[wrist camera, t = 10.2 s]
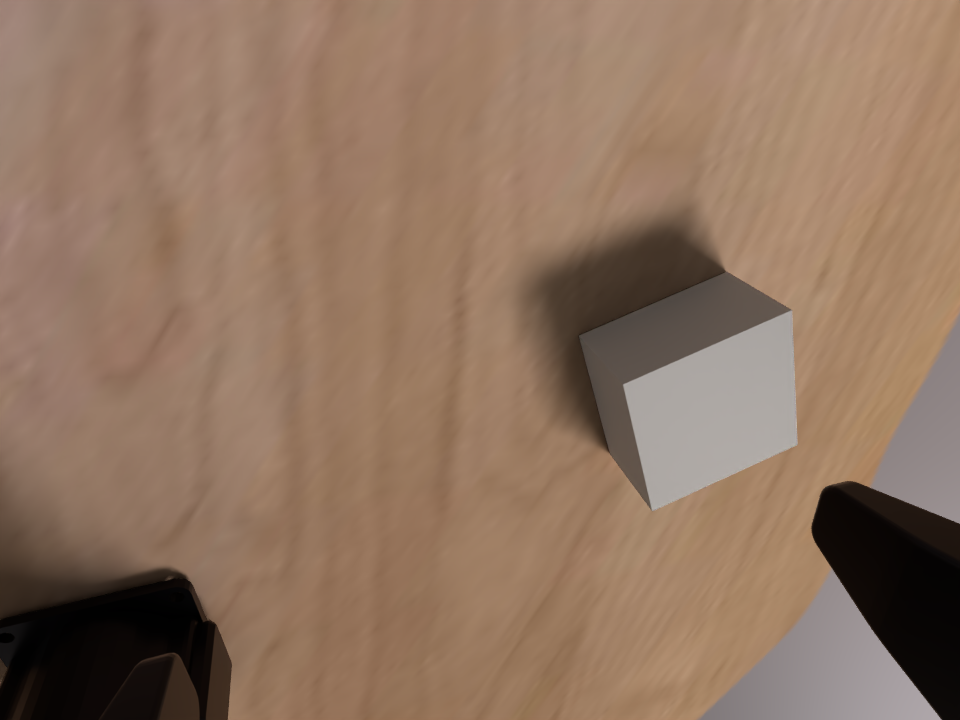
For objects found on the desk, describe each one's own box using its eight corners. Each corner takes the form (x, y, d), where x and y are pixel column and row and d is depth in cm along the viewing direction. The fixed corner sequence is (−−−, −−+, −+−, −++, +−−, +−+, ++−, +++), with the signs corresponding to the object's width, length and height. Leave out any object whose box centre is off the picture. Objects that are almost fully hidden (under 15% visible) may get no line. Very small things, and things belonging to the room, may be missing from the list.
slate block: (609, 454, 26) (652, 511, 23) (578, 335, 23) (623, 384, 20) (739, 395, 26) (797, 444, 23) (726, 271, 23) (791, 309, 20)
